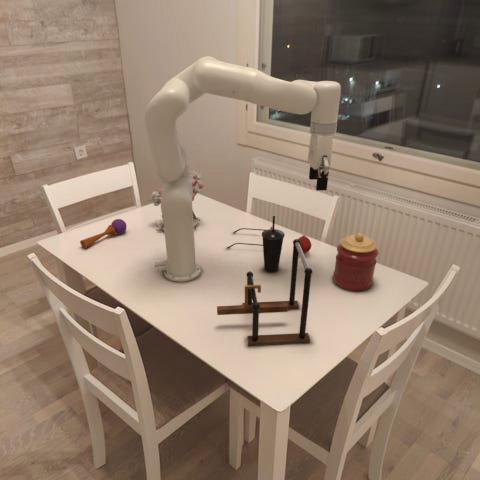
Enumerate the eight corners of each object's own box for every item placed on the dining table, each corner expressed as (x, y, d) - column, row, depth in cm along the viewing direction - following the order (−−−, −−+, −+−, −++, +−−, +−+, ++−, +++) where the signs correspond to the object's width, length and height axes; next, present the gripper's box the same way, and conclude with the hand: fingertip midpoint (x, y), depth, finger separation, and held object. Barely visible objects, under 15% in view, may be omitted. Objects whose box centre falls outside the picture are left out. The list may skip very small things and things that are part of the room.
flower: (165, 208, 197) (146, 165, 176) (214, 206, 194) (201, 162, 173) (157, 244, 187) (136, 203, 166) (209, 242, 183) (194, 201, 162)
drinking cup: (280, 275, 152) (284, 222, 141) (258, 273, 153) (260, 220, 142) (283, 264, 158) (286, 212, 147) (262, 262, 159) (264, 210, 149)
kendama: (75, 236, 168) (117, 216, 180) (81, 250, 171) (122, 229, 183) (84, 238, 164) (126, 217, 176) (90, 252, 167) (131, 231, 179)
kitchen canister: (347, 267, 157) (354, 221, 147) (379, 281, 149) (389, 233, 139) (325, 281, 149) (330, 233, 140) (358, 296, 141) (366, 247, 132)
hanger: (217, 315, 125) (216, 288, 120) (217, 311, 127) (216, 285, 122) (287, 311, 127) (289, 285, 122) (286, 308, 128) (288, 282, 123)
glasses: (270, 252, 166) (271, 240, 163) (227, 249, 168) (226, 237, 166) (274, 236, 178) (274, 224, 175) (233, 233, 180) (233, 221, 177)
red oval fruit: (293, 250, 167) (294, 231, 163) (308, 250, 168) (310, 230, 163) (296, 258, 162) (297, 238, 158) (311, 257, 163) (313, 238, 158)
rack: (248, 346, 121) (249, 273, 108) (242, 305, 137) (242, 238, 124) (309, 342, 122) (318, 270, 110) (296, 303, 138) (302, 236, 126)
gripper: (304, 121, 137) (300, 175, 146) (317, 135, 122) (311, 195, 131) (328, 121, 137) (322, 175, 146) (344, 135, 123) (336, 194, 132)
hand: (317, 184), depth 139 cm, fingers open, 9 cm apart
